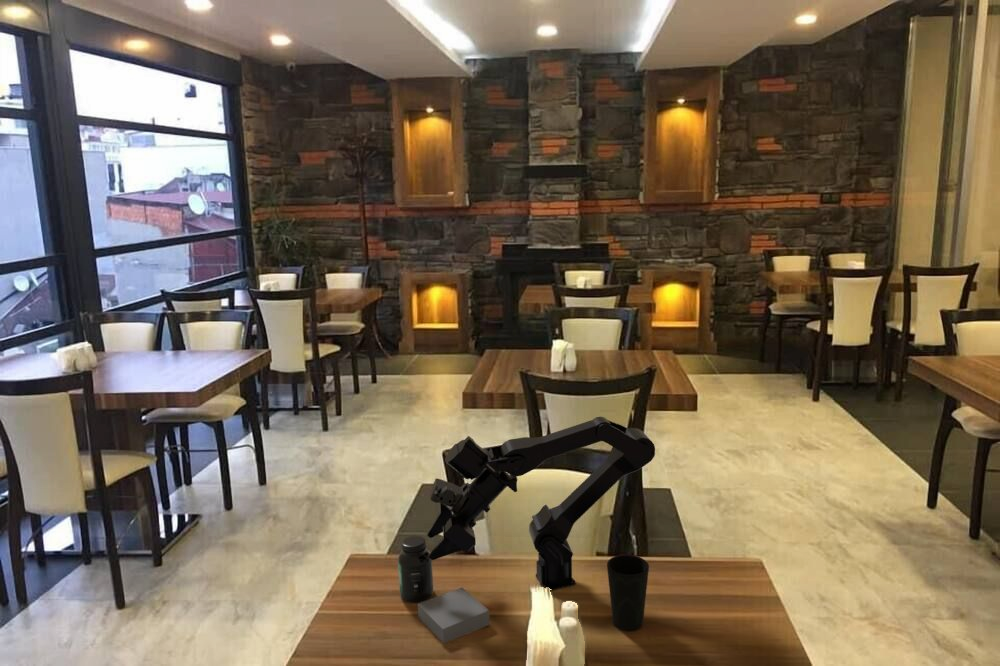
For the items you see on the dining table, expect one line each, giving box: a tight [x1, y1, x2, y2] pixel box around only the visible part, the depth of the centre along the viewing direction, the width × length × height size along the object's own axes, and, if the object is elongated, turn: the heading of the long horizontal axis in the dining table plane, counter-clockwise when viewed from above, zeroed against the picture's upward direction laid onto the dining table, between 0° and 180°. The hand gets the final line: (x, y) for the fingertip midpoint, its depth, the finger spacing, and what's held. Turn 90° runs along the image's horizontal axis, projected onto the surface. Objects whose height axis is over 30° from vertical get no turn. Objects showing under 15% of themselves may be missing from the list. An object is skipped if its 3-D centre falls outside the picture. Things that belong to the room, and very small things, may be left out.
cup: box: [606, 554, 650, 632], centre depth 139 cm, size 8×8×12 cm
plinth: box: [417, 587, 491, 645], centre depth 143 cm, size 10×10×3 cm
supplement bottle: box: [397, 535, 434, 604], centre depth 151 cm, size 7×7×12 cm
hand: (429, 547), depth 151 cm, fingers open, 9 cm apart
